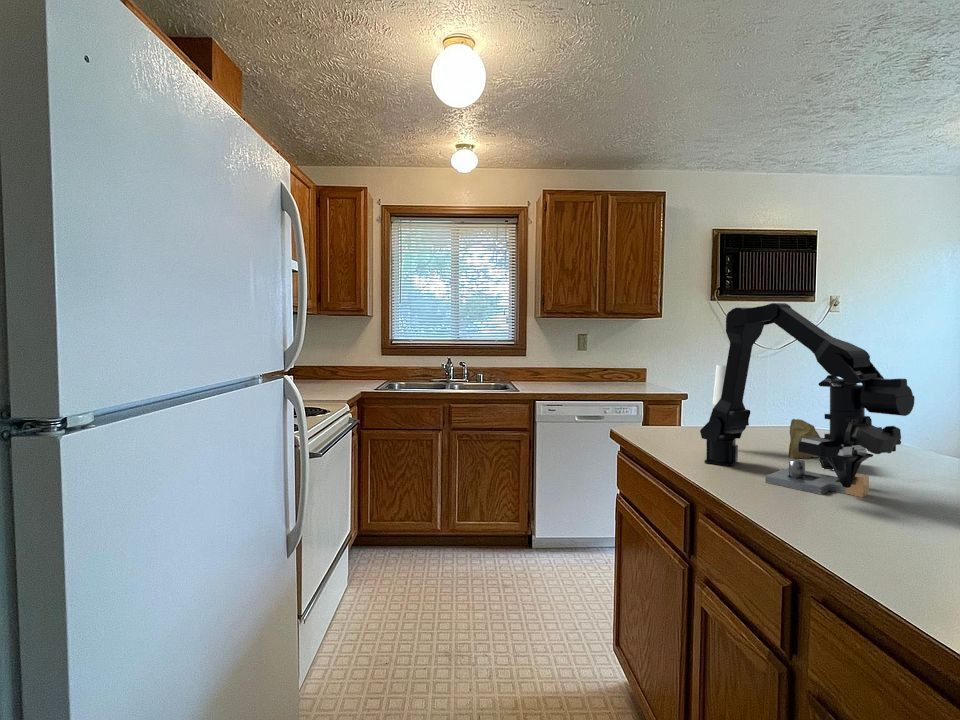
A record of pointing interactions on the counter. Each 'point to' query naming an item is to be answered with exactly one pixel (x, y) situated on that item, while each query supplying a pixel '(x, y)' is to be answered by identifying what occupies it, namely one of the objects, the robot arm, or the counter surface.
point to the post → (797, 469)
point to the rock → (800, 437)
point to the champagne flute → (718, 383)
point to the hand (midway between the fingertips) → (846, 487)
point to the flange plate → (820, 483)
